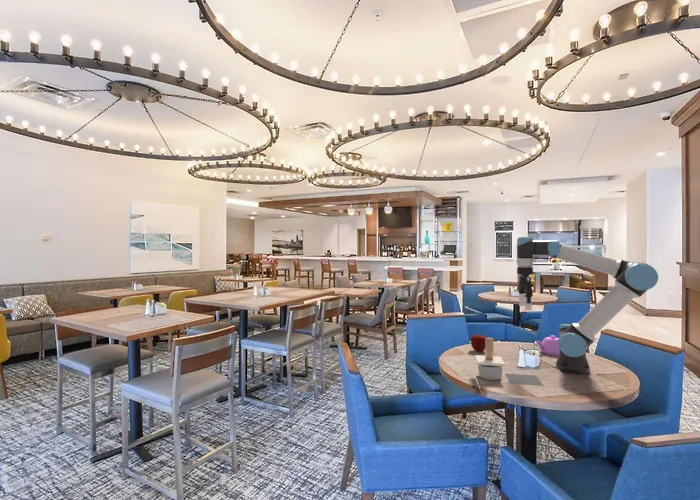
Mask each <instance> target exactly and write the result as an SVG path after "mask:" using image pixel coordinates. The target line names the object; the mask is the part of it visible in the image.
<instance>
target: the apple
mask: <svg viewBox="0 0 700 500" xmlns="http://www.w3.org/2000/svg"><path fill="white" fill-rule="evenodd" d="M485 338H487V337H486V336H485V335H481V334H473V335H471V337H470V344H471V347H472V349H473V350H474V351H475V352H479V353H482V352H485Z"/></svg>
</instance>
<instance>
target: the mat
mask: <svg viewBox="0 0 700 500" xmlns="http://www.w3.org/2000/svg"><path fill="white" fill-rule="evenodd" d="M504 376H506V378H507V380H508V382H509V383H510V384H515V385H527V386H529V385H530V386H541V387H542V386H543V387H544V386H545V385H544V383H543V382H541V380H540V379H539V378H538V376H537V375H533V374H520V373H504Z"/></svg>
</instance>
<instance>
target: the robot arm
mask: <svg viewBox="0 0 700 500" xmlns="http://www.w3.org/2000/svg"><path fill="white" fill-rule="evenodd" d="M534 256H548V257H551V258H555V259H559V260H562V261H565V262H567V263H571V264H575V265H578V266H581V267H584V268H588V269H590V270H593V271H597V272H600V273H603V274H607V275H609V276H611V277H612V278H613V279H614V286H613V287H612V288H611V289H610V290H609V291H608V292H607V293H606V294H605V295H604V296H603V297H602V298H601V299H600V300H599V301H598V302H597V303H596V304H595V305H594V306H593V307H592V308H591V309H590V310H589V311H588V312H587V313H586V314H585V315H584V316H583V317H582V318H581V319H580V320H579V321H578V322H572V323H571V324H569V323H568V324H567V323H561V324H560V325H559V327H558V328H559V330H558V331H559V336H558V338H559V339H558V346H559V348H560V353H559V356H557V358H556V361H555V368H556V369H557V370H560V371H561V372H565V373H570V374H575V375H576V374H577V375H578V374H579V375H585V374H589V373H590V372H591V368H590V367H591V366H590V364H589V361H588V358H587V354H586V353H587V349H589V347H591V345H592V344H593V343H595V341H596V335H597V334H598V333H600V331H601V330H602V329H603V328H604V327H605V326H606V325H607V324H609V323H610V321H612V320H613V318H614V317H616V315H618V314H619V313H620V312H621V311H622V310H623V309H624V308H625V307H626V306H627V305H628V304H630V302H631V301H632V300H633V299H636V298H641V297H642V296H643V295H644V294H645V293H646V292H647V291H648V290H651V289H652V288H654V287H655V286H657V283H658V281H659V274H658V271H657V270H656V269H655V267H653V266H652V265H651V264H648V263H645V262H635V261H629V260H623V259H619V260H616V259H612V258H609V257H606V256H602V255H599V254H595V253H593V252H592V253H591V252H590V251H589V252H588V251H585V250H583V249H582V250H581V249H577V248H574V247H571V246H568V245H565V244H564V245H563V244H561V242H560V241H559V240H553V239H550V240H549V239H548V240H534V237H533V236H519V237H518V238H517V239H516V260H515V262H516V266H517V268H516V274H517V275H519V279H518V289H517V292H518V297H519V298H518V306H519V307H525V308H524V310H525V311H532V297H533V296H534V294H533V288H532V287H533V286H532V277H531V275H533V274H534V268H533V267H534Z"/></svg>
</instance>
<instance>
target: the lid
mask: <svg viewBox="0 0 700 500" xmlns="http://www.w3.org/2000/svg"><path fill="white" fill-rule="evenodd" d="M484 352H485V353H484V354H485V355H481V354H480V355H478V354H477V355H476V354H475V355H474V358H475V361H476V364H477V365H490V366H502V367H506V363H505V362H504V360H503V358H502V357H501V356H494V338H493V337H486V338H485V350H484Z"/></svg>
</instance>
